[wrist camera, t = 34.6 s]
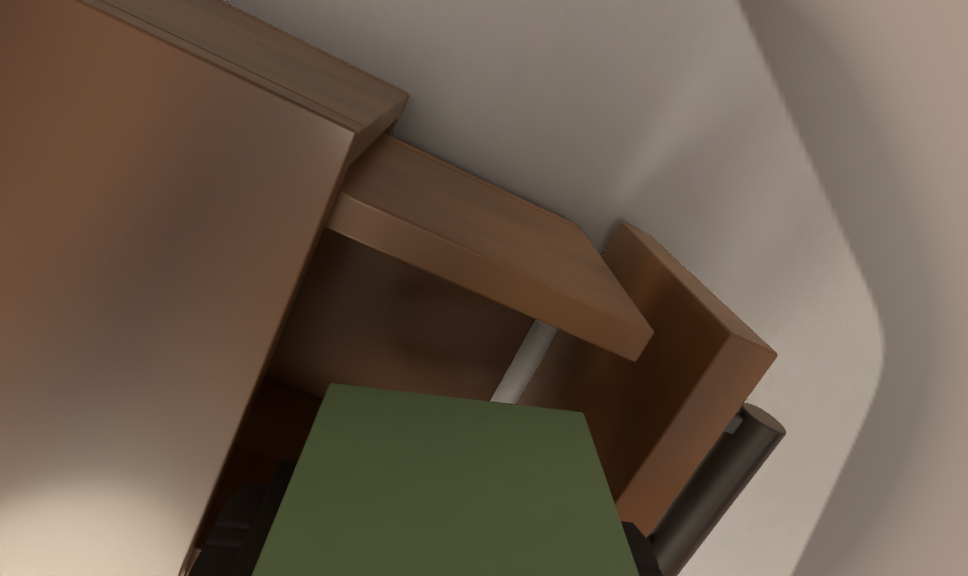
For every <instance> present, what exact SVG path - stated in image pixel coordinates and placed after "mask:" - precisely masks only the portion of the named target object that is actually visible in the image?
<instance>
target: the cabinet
mask: <svg viewBox="0 0 968 576" xmlns="http://www.w3.org/2000/svg"><path fill="white" fill-rule="evenodd" d="M408 95H409V94H408V93H407V92H405V91H403V90H401V89H399V88H397V87H394V86H392V85H390V84H388V83H386V82H384V81H382V80H380V79H378V78H376V77H374V76H372V75H370V74H368V73H366V72H364V71H362V70H360V69H358V68H356V67H354V66H352V65H350V64H348V63H346V62H344V61H342V60H340V59H338V58H336V57H334V56H332V55H330V54H328V53H326V52H324V51H322V50H320V49H318V48H316V47H314V46H311V45H309V44H307V43H305V42H303V41H301V40H299V39H297V38H295V37H293V36H291V35H289V34H287V33H285V32H283V31H281V30H279V29H277V28H275V27H273V26H271V25H269V24H267V23H265V22H263V21H261V20H259V19H257V18H255V17H253V16H251V15H249V14H247V13H245V12H243V11H241V10H239V9H237V8H235V7H233V6H231V5H228V4H226V3H224V2H222V1H220V0H0V576H188V574H189V573H188V572H186V569H187V567H188V564H189V562H190V559H191V557H192V554H193V552H194V549H195V547H196V544H197V542H198V540H199V537H200V535H201V532H202V530H203V527H204V525H205V522H206V520H207V517H208V515H209V512H210V510H211V507H212V505H213V502H214V500H215V497H216V495H217V492H218V490H219V488H220V485H221V483H222V480H223V478H224V475H225V473H226V470H227V468H228V465H229V463H230V460H231V458H232V455H233V453H234V450H235V448H236V445H237V443H238V440H239V438H240V435H241V433H242V431H243V428H244V426H245V423H246V421H247V418H248V416H249V413H250V411H251V408H252V406H253V403H254V401H255V398H256V396H257V393H258V391H259V388H260V386H261V383H262V381H263V379H264V376H265V374H266V371H267V369H268V366H269V364H270V361H271V359H272V356H273V354H274V351H275V349H276V346H277V344H278V341H279V339H280V336H281V334H282V331H283V329H284V327H285V324H286V322H287V319H288V317H289V314H290V312H291V309H292V307H293V304H294V302H295V299H296V297H297V294H298V292H299V289H300V287H301V284H302V282H303V279H304V277H305V274H306V272H307V270H308V267H309V265H310V262H311V260H312V257H313V255H314V252H315V250H316V247H317V245H318V242H319V240H320V237H321V235H322V232H323V230H324V227H325V225H326V222H327V220H328V218H329V215H330V213H331V210H332V208H333V205H334V203H335V200H336V198H337V195H338V193H339V190H340V188H341V185H342V183H343V180H344V178H345V175H346V173H347V170H348V168H349V166H350V164H351V163H352V162H353V161H354V160H355V159H356V158H357V157H358V156H359V155H360V154H361V153H362V152H363V151H365V150H366V149H367V148H368V147H369V146H370V145H371V144H372V143H373V142H374V141H375V140H376V139H377V138H378V137H379V136H380V135H381V134H382V133H385V134H387V135H389V136H392V134H393V132H394V129H395V127H396V124H397V122H398V120H399V117H400V115H401V113H402V110H403V108H404V105H405V103H406V101H407V98H408Z"/></svg>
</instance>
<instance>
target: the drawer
mask: <svg viewBox="0 0 968 576" xmlns="http://www.w3.org/2000/svg"><path fill="white" fill-rule="evenodd" d="M535 319H537V320H539V321H541V322H544V323H546V324H548V325H550V326H553V327H555V328H557V329H560V330H559V332H558V334H557V336H556V337H555V339H554V341H553V343H552V344H551V346H550V348H549V350H548V351H547V353H546V355H545V357H544V358H543V360H542V362H541V363H540V365H539V367H538V369H537V370H536V372H535V374H534V376H533V377H532V379H531V381H530V383H529V384H528V386H527V388H526V390H525V391H524V393H523V395H522V396H521V398H520V400H519V402H518V403H517V405H525V406H533V407H542V408H550V409H559V410H567V411H576V412H582V413H584V416H585V419H586V422H587V425H588V427H589V430H590V433H591V436H592V439H593V442H594V445H595V448H596V451H597V454H598V457H599V460H600V463H601V465H602V468H603V471H604V474H605V477H606V480H607V483H608V486H609V489H610V492H611V495H612V498H613V501H614V503H615V506H616V509H617V512H618V515H619V518H620V521H624V522H633V523H634V524H635V525H636V527H637V528H638V529H639V530H640V531H641V532H642V534H643V535H644V536H645V537H646V538H647V539H648V541H649V542H650V543H651V546H652V548H653V551H654V553H655V556H656V559H657V561H658V564H659V569H660V570H661V571H662V574H663V576H677V575H678V574H679V573H680V571H681V570H682V569H683V568H684V566H685V565H686V564H687V562H688V561H689V560H690V558H691V557H692V556H693V554H694V553H695V552H696V551H697V549H698V548H699V547H700V545H701V544H702V543H703V541H704V540H705V539H706V537H707V536H708V535H709V534H710V532H711V531H712V530H713V528H714V527H715V526H716V524H717V523H718V522H719V521H720V519H721V518H722V517H723V515H724V514H725V513H726V511H727V510H728V509H729V507H730V506H731V505H732V504H733V502H734V501H735V500H736V498H737V497H738V496H739V494H740V493H741V492H742V491H743V489H744V488H745V487H746V485H747V484H748V483H749V481H750V480H751V479H752V477H753V476H754V475H755V474H756V472H757V471H758V470H759V468H760V467H761V466H762V464H763V463H764V462H765V460H766V459H767V458H768V457H769V455H770V454H771V453H772V451H773V450H774V449H775V447H776V446H777V445H778V444H779V442H780V441H781V440H782V438H783V437H784V436H785V434H786V430H785V428H784V427H783V426H782V425H781V424H780V423H779V422H778V421H777V420H776V419H775V418H774V417H772V416H771V415H770V414H768V413H767V412H765V411H764V410H762V409H760V408H758V407H756V406H754V405H752V404H749V403H744V402H745V400H746V399H747V397H748V396H749V395H750V393H751V392H752V391H753V389H754V388H755V386H756V385H757V384H758V382H759V381H760V380H761V378H762V377H763V375H764V374H765V373H766V371H767V370H768V368H769V367H770V366H771V364H772V363H773V362H774V360H775V359H776V357H777V353H776V352H775V351H774V350H773V349H772V348H771V347H770V346H769V345H768V344H767V343H765V342H764V341H763V340H762V339H761V338H760V337H759V336H758V335H757V334H756V333H755V332H754V331H753V330H752V329H750V328H749V327H748V326H747V325H746V324H745V323H744V322H743V321H742V320H741V319H740V318H739V317H738V316H736V315H735V314H734V313H733V312H732V311H731V310H730V309H729V308H728V307H727V306H726V305H725V304H724V303H723V302H721V301H720V300H719V299H718V298H717V297H716V296H715V295H714V294H713V293H712V292H711V291H710V290H709V289H707V288H706V287H705V286H704V285H703V284H702V283H701V282H700V281H699V280H698V279H697V278H696V277H695V276H693V275H692V274H691V273H690V272H689V271H688V270H687V269H686V268H685V267H684V266H683V265H682V264H681V263H680V262H678V261H677V260H676V259H675V258H674V257H673V256H672V255H671V254H670V253H669V252H668V251H667V250H666V249H664V248H663V247H662V246H661V245H660V244H659V243H658V242H657V241H656V240H655V239H654V238H653V237H652V236H650V235H648V234H646V233H644V232H642V231H640V230H638V229H636V228H634V227H632V226H630V225H628V224H626V223H623V222H622V223H621V225H620V226H619V228H618V230H617V232H616V233H615V235H614V237H613V238H612V240H611V242H610V244H609V245H608V247H607V249H606V251H605V252H604V254H603V256H602V258H601V256H600V255H599V253H598V252H597V251H596V249H595V248H594V246H593V245H592V244H591V242H590V241H589V239H588V238H587V237H586V235H585V234H584V232H583V231H582V230H581V228H580V227H579V226H578V225H576V224H574V223H572V222H570V221H568V220H566V219H564V218H561V217H559V216H557V215H555V214H553V213H551V212H549V211H547V210H545V209H543V208H541V207H538V206H536V205H534V204H532V203H530V202H528V201H526V200H524V199H522V198H520V197H517V196H515V195H513V194H511V193H509V192H507V191H505V190H503V189H501V188H499V187H496V186H494V185H492V184H490V183H488V182H486V181H484V180H482V179H480V178H478V177H475V176H473V175H471V174H469V173H467V172H465V171H463V170H461V169H459V168H457V167H454V166H452V165H450V164H448V163H446V162H444V161H442V160H440V159H438V158H436V157H433V156H431V155H429V154H427V153H425V152H423V151H421V150H419V149H417V148H415V147H412V146H410V145H408V144H406V143H404V142H402V141H400V140H398V139H396V138H394V137H391V136H389V135H387V134H385V133H382V134H381V135H380V136H379V137H378V138H377V139H376V140H375V141H374V142H373V143H372V144H371V145H370V146H369V147H368V148H367V149H366V150H365V151H363V152H362V153H361V154H360V155H359V156H358V157H357V158H356V159H355V160H354V161H353V162H352V163H351V164H350V166H349V168H348V170H347V173H346V175H345V178H344V180H343V183H342V185H341V188H340V190H339V193H338V195H337V198H336V200H335V203H334V205H333V208H332V210H331V213H330V215H329V218H328V220H327V222H326V225H325V227H324V230H323V232H322V235H321V237H320V240H319V242H318V245H317V247H316V250H315V252H314V255H313V257H312V260H311V262H310V265H309V267H308V270H307V272H306V274H305V277H304V279H303V282H302V284H301V287H300V289H299V292H298V294H297V297H296V299H295V302H294V304H293V307H292V309H291V312H290V314H289V317H288V319H287V322H286V324H285V327H284V329H283V331H282V334H281V336H280V339H279V341H278V344H277V346H276V349H275V351H274V354H273V356H272V359H271V361H270V364H269V366H268V369H267V371H266V374H265V376H264V379H263V381H262V383H261V386H260V388H259V391H258V393H257V396H256V398H255V401H254V403H253V406H252V408H251V411H250V413H249V416H248V418H247V421H246V423H245V426H244V428H243V431H242V433H241V435H240V438H239V440H238V443H237V445H236V448H235V450H234V453H233V455H232V458H231V460H230V463H229V465H228V468H227V470H226V473H225V475H224V478H223V480H222V483H221V485H220V488H219V490H218V492H217V495H216V497H215V500H214V502H213V505H212V507H211V510H210V512H209V515H208V517H207V520H206V522H205V525H204V527H203V530H202V532H201V535H200V537H199V540H198V542H197V544H196V547H195V549H194V552H193V554H192V557H191V559H190V562H189V564H188V567H187V569H186V572H188V573H189V572H190V570H191V568H192V566H193V565H194V563H195V561H196V559H197V557H198V555H199V553H200V551H201V549H202V547H203V546H204V545H205V544H206V540H207V538H208V536H209V534H210V532H211V530H212V529H213V527H215V525H216V521H217V519H218V517H219V515H220V513H221V511H222V510H223V508H224V506H225V504H226V502H227V500H228V499H230V498H231V497H232V496H233V495H234V494H236V493H237V492H238V491H239V490H240V489H242V488H243V487H244V486H245V485H246V484H247V483H255V484H265V485H269V484H270V481H271V479H272V477H273V475H274V473H275V470H276V468H277V466H278V464H279V462H280V460H281V459H289V460H299V458H300V455H301V453H302V450H303V448H304V445H305V443H306V440H307V438H308V435H309V433H310V431H311V428H312V426H313V423H314V421H315V418H316V416H317V413H318V411H319V408H320V406H321V403H322V401H323V399H324V396H325V394H326V391H327V389H328V386H329V384H330V383H337V384H346V385H354V386H363V387H371V388H380V389H388V390H397V391H405V392H414V393H423V394H431V395H440V396H448V397H457V398H465V399H474V400H482V401H490V400H491V398H492V396H493V394H494V393H495V391H496V389H497V387H498V385H499V384H500V382H501V380H502V378H503V376H504V375H505V373H506V371H507V369H508V367H509V366H510V364H511V362H512V360H513V358H514V357H515V355H516V353H517V351H518V350H519V348H520V346H521V344H522V342H523V341H524V339H525V337H526V335H527V333H528V332H529V330H530V328H531V326H532V324H533V323H534V321H535Z"/></svg>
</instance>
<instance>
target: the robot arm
mask: <svg viewBox="0 0 968 576" xmlns="http://www.w3.org/2000/svg"><path fill="white" fill-rule="evenodd" d="M297 463H298V460H289V459H281V460H280V462H279V464H278V466H277V468H276V470H275V473H274V475H273V477H272V479H271V481H270V484H269V485H265V484H255V483H247V484H246V485H245V486H244V487H243V488H242V489H240V490H239V491H238V492H237V493H236V494H234V495H233V496H232V497H231V498H230V499H228V500H227V502H226V504H225V506H224V508H223V510H222V511H221V513H220V515H219V517H218V519H217V521H216V525H215V527H213V529H212V530H211V532H210V534H209V536H208V538H207V540H206V544H205V545H204V546H203V547H202V549H201V551H200V553H199V555H198V557H197V559H196V561H195V563H194V565H193V566H192V568H191V570H190V572H189V574H188V576H252V573H253V571H254V569H255V566H256V564H257V561H258V559H259V556H260V554H261V551H262V549H263V546H264V544H265V541H266V539H267V536H268V534H269V532H270V529H271V527H272V524H273V522H274V519H275V517H276V514H277V512H278V509H279V507H280V504H281V502H282V500H283V497H284V495H285V492H286V490H287V487H288V485H289V482H290V480H291V477H292V475H293V472H294V470H295V468H296V465H297ZM621 524H622V527H623V530H624V533H625V536H626V539H627V541H628V544H629V547H630V550H631V553H632V556H633V559H634V562H635V565H636V568H637V571H638V574H639V576H663V574H662V571H661V570H660V569H659V564H658V561H657V559H656V556H655V553H654V551H653V548H652V546H651V543H650V542H649V541H648V539H647V538H646V537H645V536H644V535H643V534H642V532H641V531H640V530H639V529H638V528H637V527H636V525H635V524H634V523H633V522H624V521H621Z"/></svg>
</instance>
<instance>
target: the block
mask: <svg viewBox="0 0 968 576" xmlns="http://www.w3.org/2000/svg"><path fill="white" fill-rule="evenodd" d="M252 576H639V574H638V571H637V568H636V565H635V562H634V559H633V556H632V553H631V550H630V547H629V544H628V541H627V539H626V536H625V533H624V530H623V527H622V524H621V521H620V518H619V515H618V512H617V509H616V506H615V503H614V501H613V498H612V495H611V492H610V489H609V486H608V483H607V480H606V477H605V474H604V471H603V468H602V465H601V463H600V460H599V457H598V454H597V451H596V448H595V445H594V442H593V439H592V436H591V433H590V430H589V427H588V425H587V422H586V419H585V416H584V413H582V412H576V411H567V410H559V409H550V408H542V407H533V406H525V405H516V404H508V403H499V402H491V401H482V400H474V399H465V398H457V397H448V396H440V395H431V394H423V393H414V392H405V391H397V390H388V389H380V388H371V387H363V386H354V385H346V384H337V383H330V384H329V386H328V389H327V391H326V394H325V396H324V399H323V401H322V403H321V406H320V408H319V411H318V413H317V416H316V418H315V421H314V423H313V426H312V428H311V431H310V433H309V435H308V438H307V440H306V443H305V445H304V448H303V450H302V453H301V455H300V458H299V460H298V463H297V465H296V468H295V470H294V472H293V475H292V477H291V480H290V482H289V485H288V487H287V490H286V492H285V495H284V497H283V500H282V502H281V504H280V507H279V509H278V512H277V514H276V517H275V519H274V522H273V524H272V527H271V529H270V532H269V534H268V536H267V539H266V541H265V544H264V546H263V549H262V551H261V554H260V556H259V559H258V561H257V564H256V566H255V569H254V571H253V573H252Z"/></svg>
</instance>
